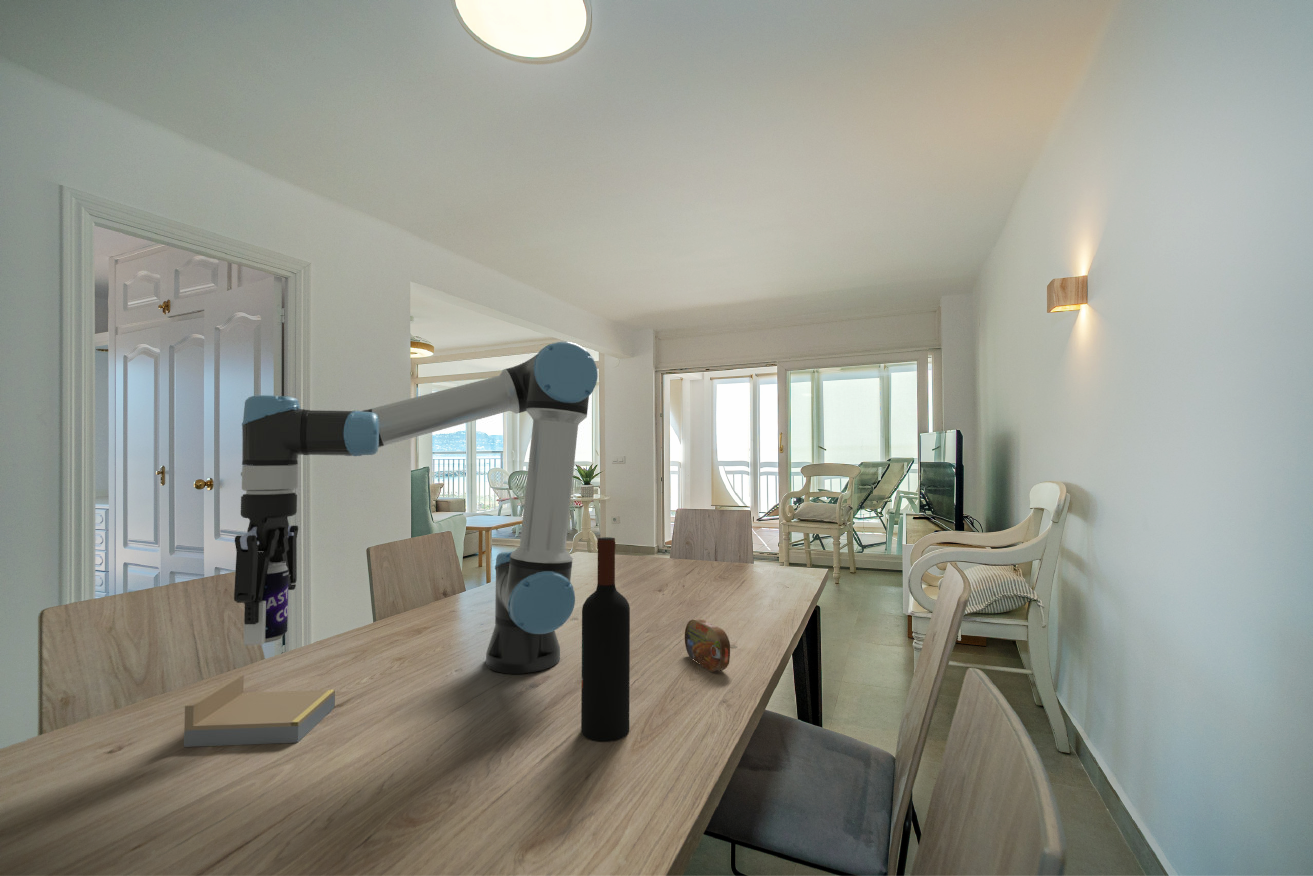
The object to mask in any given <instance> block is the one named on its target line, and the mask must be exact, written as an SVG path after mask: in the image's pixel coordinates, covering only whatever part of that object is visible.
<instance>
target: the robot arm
mask: <svg viewBox="0 0 1313 876" xmlns="http://www.w3.org/2000/svg"><path fill="white" fill-rule="evenodd" d="M598 373H599V372H598V367H597V364H596V362H595V358H594V357H593V356H592V355H591V353H590V352H589V351H588V350H587V349H586V348H585V347H583V346H581V345H579V344H578V343H575V342H571V341H557V342H553V343H549V344H548V345H545V346H544V347H543V348H541V349H540V350H539V352H537V354H535V355H533V356H532V357H531V358H530V359H528V360H525V361H524V362H521V363H520V364H518V365H515V366H512V367H509V368H505V369H502V371H501V373H500V374H499V375H497V376H493V377H492V376H491V377H489V378H485V379H481V380H477V381H473V382H470V383H466V384H461V385H458V386H454V387H451V388H447V389H442V390H438V391H435V392H431V393H428V394H427V393H426V394H423V395H419V396H416V397H411V398H408V399H404V400H399V401H396V402H392V403H389V404H384V405H380V406H377V407H372V408H369V409H364V410H356V409H355V410H313V409H312V410H310V409H303V408H301V406H300V402H299V399H298V398H296V397H292V396H283V395H282V396H281V395H270V394H269V395H265V394H263V395H258V394H257V395H252V396H248V398H247V399H246V400H245V401H244V408H243V419H242V423H241V426H242V427H241V429H242V435H241V437H242V443H241V444H242V445H241V446H242V449H241V450H242V453H241V454H242V456H241V457H242V461H241V465H242V469H241V472H240V476H241V490H242V491H245V493H244V494H242V495H241V496H240V516H241V517H242V518H244V519H248V520H249V524H248V526H247V530H246V531H247V532H246V533H245V534H242V535H238V534H237V535H236V536H235V537H234V544H235V545H234V546H235V550H236V552H235V553H236V557H235V570H234V571H235V572H234V573H235V575H234V592H233V594H234V595H233V599H234V602H236V603H237V604H241V603H242V604H244V616H243V618H244V621H243V646H252V645H253V646H255V645H256V646H257V645H261V646H262V645H264V644H266V643H265V627H266V601H262V598H263V593H264V588H265V582H266V577H267V571H268V566H269V561H270V562H281V561H284V562H286V566H287V568H288V570H289V577H288V591H294V590H295V589H296V588H297V585H296V584H297V579H298V575H297V574H298V573H297V571H298V570H297V569H298V568H297V565H298V564H297V561H298V560H297V559H298V557H297V556H298V555H297V550H298V549H297V538H298V532H299V526H298V525H290V524H289V519H288V517H293V516H295V515H296V514H297V512H298V508H297V507H298V494H296V492H294V490H297V489H298V487H299V486H298V481H299V480H298V477H299V476H298V474H299V473H298V472H299V471H298V470H299V469H298V468H299V466H298V465H299V460H298V458H299V456H302V455H303V456H310V455H311V456H345V457H352V456H353V457H362V456H373V455H376V453H378V451H379V448H381V447H384V446H388V445H393V444H395V443H399V442H402V441H405V440H409V439H413V438H416V437H419V436H420V437H421V436H423V435H427V434H431V433H434V432H437V431H443V430H447V429H449V428H452V427H457V426H460V425H463V424H468V423H471V422H474V421H478V420H482V419H484V418H488V417H492V416H495V415H500V414H502V413H506V412H512V413H514V414H515V415H516V414H517V415H518V414H521V413H524V412H526V413H528V415H529V416H530V418H531V419H532V429H531V437H530V439H531V440H530V447H529V448H530V449H529V455H528V456H529V457H528V464H527V465H528V467H527V476H526V486H525V494H524V495H525V496H524V504H523V511H522V512H523V513H522V523H521V532H520V541H519V545H518V547H517V548H516V549H514V551H513V550H511V551H504V552H503V551H501V552H499V553H497V556H496V558H495V566H494V570H495V609H494V610H495V615H494V616H495V617H494V618H495V619H494V620H495V621H494V624H495V625H494V628H493V631H492V633H491V634H492V635H491V638H490V640H489V643H488V646H487V649H486V653H485V665H486V667H487V668H488V669H489V670H491V671H494V672H497V673H503V674H510V675H511V674H513V675H515V674H530V673H536V672H540V671H544V670H548V669H549V668H551V667H554V666H555V665H557V664H558V663H559V662H560V660H561V646H560V644H559V640H558V637H557V634H556V630H558V629H560V627H562V626H563V625H564V624H566V623H567V621H568V620H569V619H570V617H571V615H572V614H573V611H574V608H575V605H576V595H575V589H574V586H573V584H572V583H571V578H572V568H573V561H574V560H573V557H572V556H571V554H570V552H568V551H567V547H566V546H567V537H568V529H569V528H568V527H569V519H570V508H571V507H570V506H571V500H572V489H573V480H574V469H575V460H576V451H577V438H578V431H579V426H580V424H581V422H583V421H584V420H585V419H587V417H588V409H589V401H590V395H592V393H593V392H594V390H595V388H596V385H597V381H598V377H599V376H598ZM288 623H289V622H287V627H288Z"/></svg>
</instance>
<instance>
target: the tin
mask: <svg viewBox="0 0 1313 876" xmlns="http://www.w3.org/2000/svg"><path fill="white" fill-rule="evenodd" d="M684 646H685V650H686V652H687V655H688V657H689V658H690V659H691V658H692V659H694V660H695V661H697V662H698V663H700V664H701V665H703V666H704V667H705V668H704V667H703V666H702V667H703V668H704V669H706V668H707V669H708V670H707V669H706V670H707V671H709V670H710V671H712V672H711V673H714V672H719V671H720V672H721V671H724V670H726V669H727V668H728V667H729V665H730V658H731V642H730V638H729V636H728V634H727V633H726V631H725V630H723V628H721V627H719V626H717V625H714V624H712V623H710V622H709V621H706V620H704V619H691V620H689V621H688V622H687V624H686V626H685V630H684ZM692 659H691V660H692ZM695 661H694V662H695ZM698 663H697V664H698ZM701 665H700V666H701ZM710 671H709V672H710Z"/></svg>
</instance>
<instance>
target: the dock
mask: <svg viewBox="0 0 1313 876" xmlns="http://www.w3.org/2000/svg"><path fill="white" fill-rule="evenodd" d="M244 677H245V675H244V674H235V675H234V676H232V677H230V678H229V679H227V680H226V681H224V682H222V683H220V684H219V685H217V686H215V687H214V688H212V689H211V690H208V691H207V692H205V693H204V694H202V695H200V696H199V697H198V698H195V699H194V700H192V701H191V702H189V703H188V704H186V705H184V728H183V729H184V730H183V731H184V733H183V734H184V735H183V737H184V738H183V747H184V748H191V747H192V748H193V747H194V748H195V747H217V746H219V747H221V746H237V745H238V746H243V745H267V744H291V743H292V744H293V743H295V744H296V743H299V742H300V741H301V740H302V739H303V738H304V737H306V735H307V734H308V733H309V732H311V731H312V729H314V728H315V727H316V726H317V725H318V724H319V723H320V722H321V721H322V720H323V719H324V718H326V717H327V716H328V714H330V713H331V712H332V711H333V710H334V709H335V708H336V689H321V690H318V689H317V690H293V691H292V690H289V691H285V690H284V691H257V692H244V680H245V679H244Z"/></svg>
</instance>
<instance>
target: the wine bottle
mask: <svg viewBox="0 0 1313 876" xmlns="http://www.w3.org/2000/svg"><path fill="white" fill-rule="evenodd" d="M596 544H597V545H596V546H597V547H596V548H597V585H596V589H595V590H594V592H592V593H591V594H590V595H589V596H588V597H587V598H586V599H585V601H584V602H583V604H582V608H581V701H580V702H581V704H580V705H581V707H580V708H581V709H580V710H581V711H580V712H581V713H580V714H581V718H580V719H581V720H580V721H581V722H580V723H581V724H580V729H581V730H580V733H581V734H582V736H583V737H584V738H585V739H587V740H590V741H592V742H593V741H594V742H597V743H598V742H599V743H604V742H605V743H608V742H609V743H610V742H614V741H618V740H620V739H622V738H625V737H626V736H627V735H629V732H630V693H631V692H630V691H631V689H630V681H631V680H630V678H631V677H630V675H631V674H630V669H631V667H630V666H631V665H630V660H631V659H630V657H631V653H630V651H631V649H630V648H631V646H630V645H631V641H630V638H631V637H630V635H631V631H630V630H631V623H630V622H631V621H630V619H631V618H630V617H631V616H630V615H631V614H630V612H631V608H630V603H629V601H628V600H627V599H626V597H625V596H624V595H623V594H621V592H619V591H618V590H617V587H616V538H615V537H609V536H607V537H605V536H604V537H598V538H597V543H596Z"/></svg>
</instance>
